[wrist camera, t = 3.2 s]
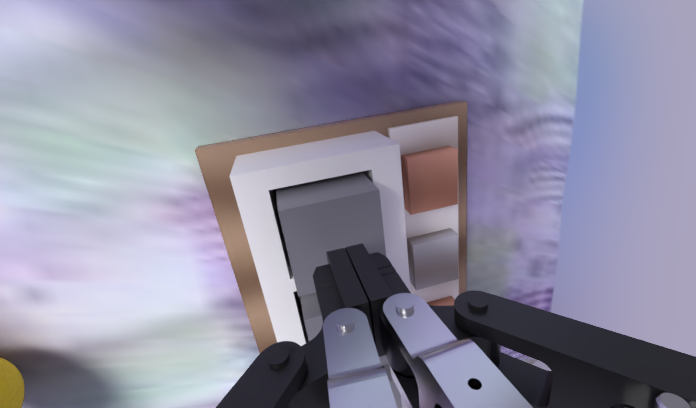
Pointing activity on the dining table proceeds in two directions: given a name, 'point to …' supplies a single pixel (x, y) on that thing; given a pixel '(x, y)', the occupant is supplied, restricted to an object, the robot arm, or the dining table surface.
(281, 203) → the button
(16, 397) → the lemon
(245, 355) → the dining table surface
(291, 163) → the switch housing
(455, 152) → the switch base
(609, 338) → the robot arm
